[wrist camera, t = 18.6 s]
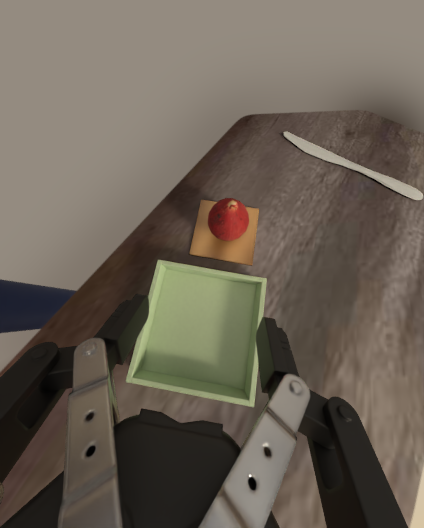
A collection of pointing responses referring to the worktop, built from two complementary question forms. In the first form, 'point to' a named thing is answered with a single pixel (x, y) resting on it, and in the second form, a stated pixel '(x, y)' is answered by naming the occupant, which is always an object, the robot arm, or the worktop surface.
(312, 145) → the butter knife
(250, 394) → the tray
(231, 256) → the cork mat
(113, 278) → the worktop surface
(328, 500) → the robot arm
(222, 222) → the red rounded piece
